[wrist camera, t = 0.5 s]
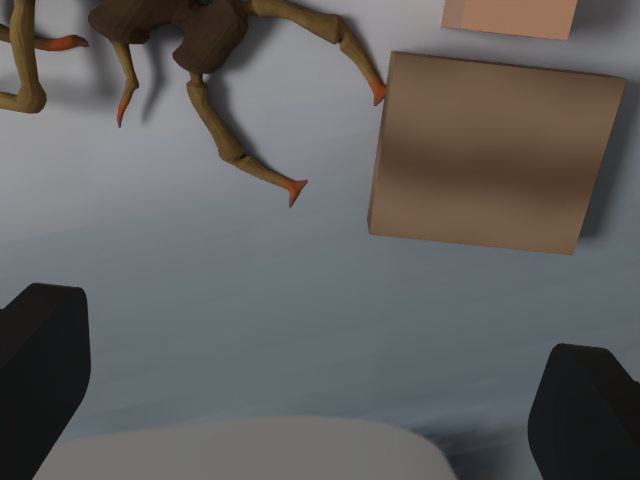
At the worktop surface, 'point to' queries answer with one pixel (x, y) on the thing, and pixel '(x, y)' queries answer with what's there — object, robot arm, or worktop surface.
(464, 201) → the base board
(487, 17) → the terracotta block
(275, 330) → the worktop surface
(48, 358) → the robot arm
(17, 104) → the toy
